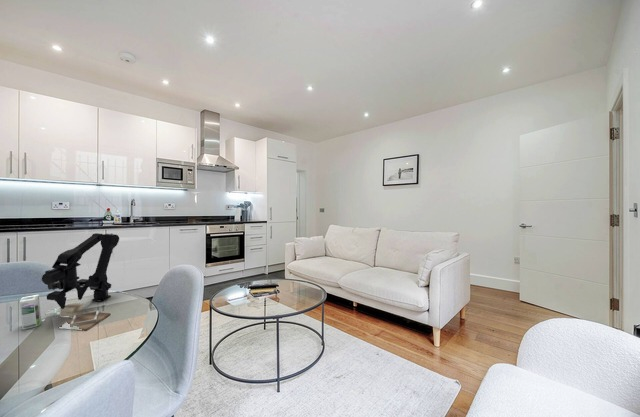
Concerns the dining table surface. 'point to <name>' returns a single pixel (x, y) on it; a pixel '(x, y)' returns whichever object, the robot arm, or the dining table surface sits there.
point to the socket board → (87, 319)
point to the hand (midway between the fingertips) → (71, 304)
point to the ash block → (72, 309)
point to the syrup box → (30, 311)
